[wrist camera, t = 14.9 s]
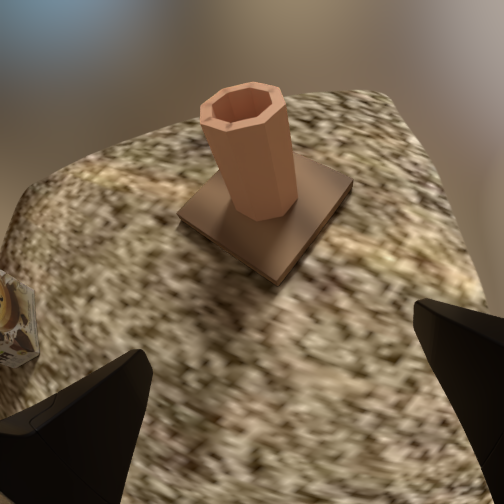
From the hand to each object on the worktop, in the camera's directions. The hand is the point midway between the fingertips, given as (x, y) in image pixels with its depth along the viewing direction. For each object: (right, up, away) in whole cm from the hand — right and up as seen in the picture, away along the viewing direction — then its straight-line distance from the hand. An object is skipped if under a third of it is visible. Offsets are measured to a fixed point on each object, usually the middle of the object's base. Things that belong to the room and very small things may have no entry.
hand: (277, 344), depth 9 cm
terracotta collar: (0, +8, +18) cm, 19 cm away
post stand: (0, +7, +19) cm, 20 cm away
